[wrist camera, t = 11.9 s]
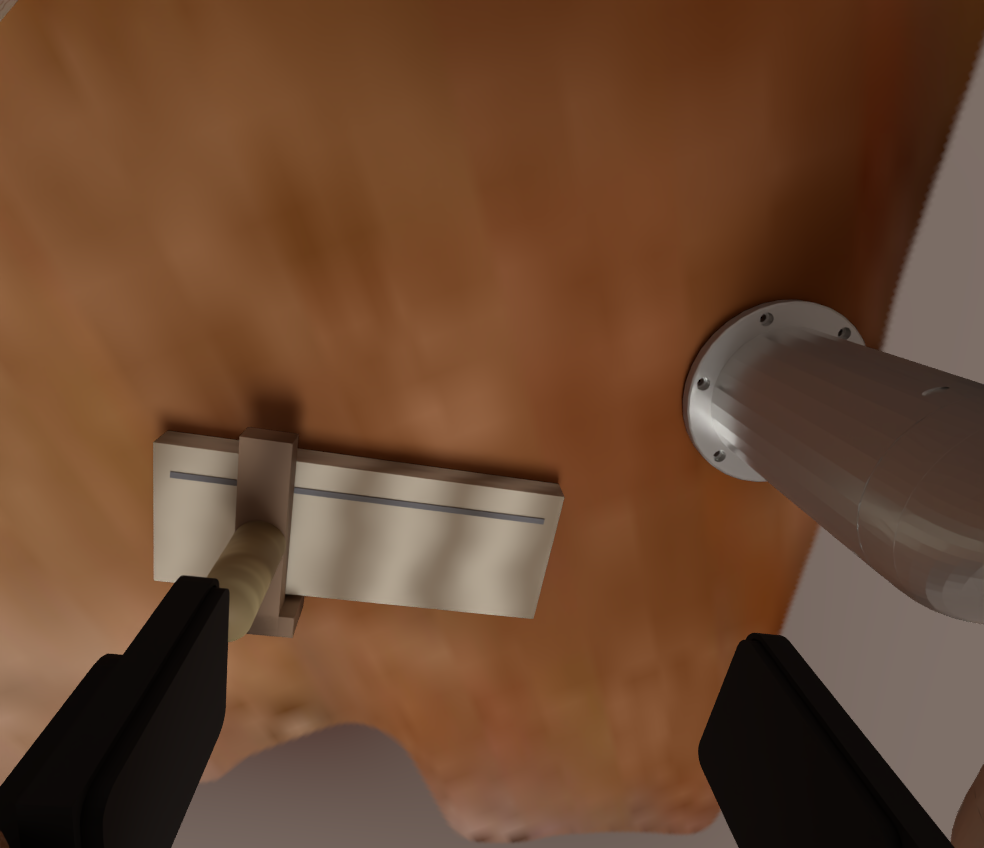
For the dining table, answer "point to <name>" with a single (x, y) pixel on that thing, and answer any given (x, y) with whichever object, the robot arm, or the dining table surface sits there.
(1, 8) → the stack of blocks
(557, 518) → the birch board
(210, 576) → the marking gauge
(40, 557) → the dining table surface
